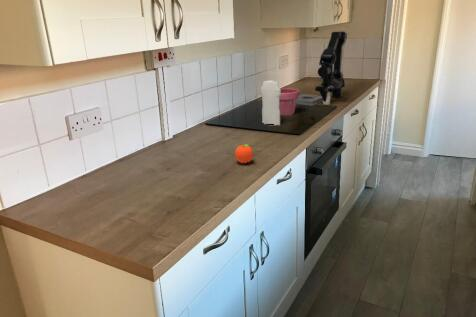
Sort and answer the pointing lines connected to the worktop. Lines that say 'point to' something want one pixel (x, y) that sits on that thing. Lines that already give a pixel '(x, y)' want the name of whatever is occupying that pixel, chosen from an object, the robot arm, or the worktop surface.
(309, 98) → the hole plate
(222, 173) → the worktop surface
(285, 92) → the plant pot
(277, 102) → the tall pale column
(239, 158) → the clementine
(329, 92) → the peg
